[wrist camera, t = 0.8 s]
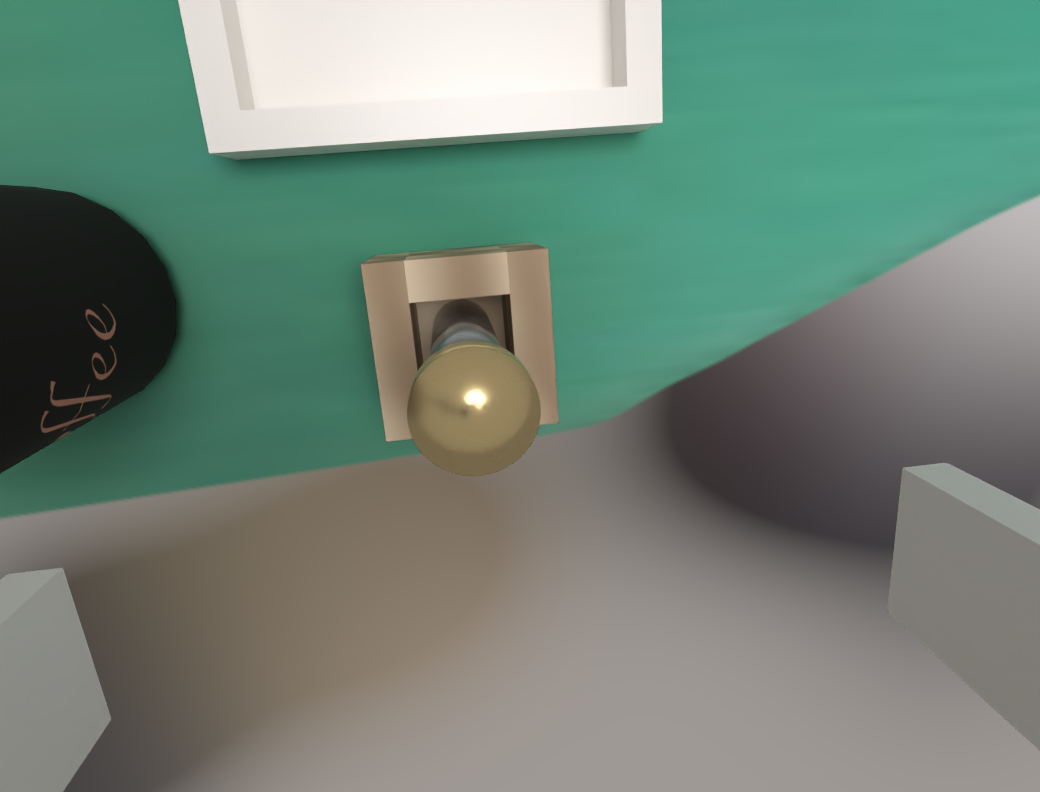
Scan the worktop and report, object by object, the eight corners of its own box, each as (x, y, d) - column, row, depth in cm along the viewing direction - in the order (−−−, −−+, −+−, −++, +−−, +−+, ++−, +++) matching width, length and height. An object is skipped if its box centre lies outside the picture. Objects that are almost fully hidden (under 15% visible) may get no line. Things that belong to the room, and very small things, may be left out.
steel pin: (427, 369, 33) (415, 483, 19) (418, 293, 32) (398, 355, 18) (503, 361, 34) (544, 468, 20) (496, 286, 33) (536, 342, 19)
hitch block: (396, 403, 35) (386, 441, 29) (375, 255, 32) (360, 264, 27) (540, 388, 35) (558, 422, 30) (530, 242, 33) (547, 248, 27)
